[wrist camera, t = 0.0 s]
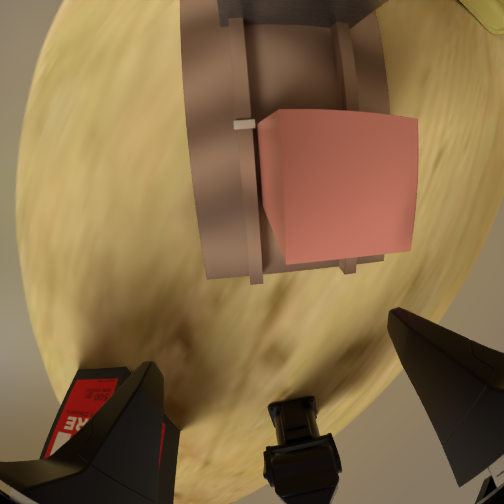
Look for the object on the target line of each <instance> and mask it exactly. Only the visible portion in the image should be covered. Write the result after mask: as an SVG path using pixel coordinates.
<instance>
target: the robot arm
mask: <svg viewBox="0 0 504 504" xmlns="http://www.w3.org/2000/svg"><path fill="white" fill-rule="evenodd" d="M387 329H388V333H389V335H390V337H391V340H392V342H393V345H394V347H395V349H396V352H397V354H398V357H399V359H400V361H401V364H402V366H403V368H404V369H405V371H406V373H407V375H408V377H409V378H410V381H411V382H412V384H413V386H414V388H415V390H416V392H417V394H418V396H419V397H420V400H421V402H422V404H423V406H424V408H425V410H426V412H427V414H428V416H429V418H430V420H431V422H432V425H433V427H434V429H435V431H436V433H437V435H438V438H439V440H440V442H441V444H442V446H443V449H444V452H445V454H446V456H447V459H448V461H449V463H450V466H451V468H452V471H453V473H454V476H455V479H456V481H457V484H458V486H459V487H461V486H463V485H464V484H465V483H467V482H468V481H470V480H471V479H473V478H474V477H476V476H477V475H478V474H480V473H481V472H483V471H484V470H485V469H486V468H488V469H489V472H490V474H491V475H490V476H489V477H488V478H486V479H485V480H484V482H483V484H482V487H481V490H480V492H479V495H478V497H477V500H476V502H475V504H504V353H502V352H499V351H496V350H494V349H491V348H488V347H486V346H484V345H481V344H479V343H477V342H475V341H472V340H470V339H468V338H466V337H464V336H462V335H459V334H457V333H455V332H453V331H451V330H449V329H446V328H444V327H442V326H439V325H438V324H435V323H433V322H431V321H429V320H427V319H424V318H422V317H420V316H418V315H416V314H413V313H411V312H409V311H407V310H405V309H402V308H400V307H397V308H394V309H391V310H390V311H389V315H388V324H387ZM268 411H269V414H270V417H271V419H272V422H273V425H274V427H275V428H276V435H277V442H278V445H276V446H267V447H266V451H265V452H263V453H264V472H263V476H264V478H265V479H267V480H268V482H269V483H270V486H271V487H275V492H276V494H277V495H278V497H279V498H280V499H281V501H282V502H283V503H284V504H331V503H332V501H333V499H334V496H335V494H336V492H337V489H338V483H339V476H338V473H341V472H342V467H341V461H340V457H339V454H338V451H337V448H336V445H335V442H334V440H333V437H332V434H331V433H328V434H327V435H323V436H320V434H319V430H318V427H317V423H316V418H317V416H316V405H315V398H314V397H313V396H311V397H307V398H302V399H298V400H293V401H289V402H284V403H279V404H274V405H269V406H268ZM163 413H164V379H163V375H162V373H161V372H160V370H159V368H158V367H157V365H156V364H155V362H153V361H146V362H143V363H142V364H141V365H140V366H139V367H138V368H137V369H136V370H135V371H134V372H133V373H132V374H131V376H130V377H129V378H128V379H127V380H126V381H125V382H124V383H123V384H122V385H121V386H120V387H119V388H118V389H117V390H116V392H115V393H114V394H113V395H112V396H111V397H110V398H109V399H108V400H107V401H106V402H105V403H104V404H103V405H102V406H101V408H100V409H99V410H98V411H97V412H96V413H95V414H94V415H93V416H92V417H91V419H89V420H88V421H87V422H86V423H85V425H84V426H83V427H82V428H81V429H80V430H79V431H78V432H77V433H76V434H74V435H73V436H72V437H71V438H70V439H69V440H68V441H67V442H66V443H64V444H63V445H62V446H61V447H60V448H59V449H58V450H56V451H55V452H54V453H53V454H52V455H50V456H49V457H47V458H44V459H40V460H30V461H18V462H0V480H1V481H3V482H4V483H6V484H7V485H9V486H10V487H12V489H11V492H10V495H8V494H7V493H5V492H4V491H2V490H1V489H0V504H157V496H158V474H159V458H160V446H161V434H162V424H163Z"/></svg>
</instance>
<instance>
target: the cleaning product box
mask: <svg viewBox="0 0 504 504" xmlns="http://www.w3.org/2000/svg"><path fill="white" fill-rule="evenodd" d="M130 376H131V372H130V371H129V370H128V368H127V367H117V368H103V369H84V370H78V371H77V373H76V375H75V377H74V379H73V381H72V383H71V385H70V387H69V389H68V391H67V393H66V396H65V398H64V400H63V402H62V404H61V406H60V409H59V411H58V413H57V415H56V418H55V420H54V423H53V425H52V427H51V430H50V432H49V435H48V437H47V440H46V442H45V445H44V448H43V450H42V453H41V456H40V459H44V458H47V457H49V456H50V455H52V454H53V453H54V452H55V451H56V450H58V449H59V448H60V447H61V446H62V445H63V444H64V443H66V442H67V441H68V440H69V439H70V438H71V437H72V436H73V435H74V434H76V433H77V432H78V431H79V430H80V429H81V428H82V427H83V426H84V425H85V423H86V422H87V421H88V420H89V419H91V417H92V416H93V415H94V414H95V413H96V412H97V411H98V410H99V409H100V408H101V406H102V405H103V404H104V403H105V402H106V401H107V400H108V399H109V398H110V397H111V396H112V395H113V394H114V393H115V392H116V390H117V389H118V388H119V387H120V386H121V385H122V384H123V383H124V382H125V381H126V380H127V379H128V378H129V377H130ZM179 437H180V431H179V430H178V429H177V428H176V426H175V425H174V424H173V423H172V422H171V421H170V420H169V419H168V418H167V417H166V415H165V414H164V413H163V424H162V434H161V446H160V458H159V474H158V496H157V504H173V499H174V487H175V475H176V465H177V455H178V446H179ZM40 459H39V460H40Z"/></svg>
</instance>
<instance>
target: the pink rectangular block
mask: <svg viewBox="0 0 504 504" xmlns="http://www.w3.org/2000/svg"><path fill="white" fill-rule="evenodd" d="M257 136H258V149H259V163H260V177H261V191H262V205H263V208H264V210H265V213H266V215H267V218H268V220H269V222H270V225H271V227H272V230H273V232H274V235H275V237H276V240H277V243H278V245H279V248H280V250H281V253H282V255H283V258H284V260H285V263H286V265H288V264H298V263H307V262H317V261H327V260H336V259H345V258H354V257H363V256H372V255H381V254H389V253H398V252H406V251H410V250H411V243H412V236H413V229H414V220H415V210H416V199H417V184H418V119H414V118H408V117H401V116H395V115H387V114H379V113H369V112H358V111H344V110H324V109H278V110H277V111H275V112H274V113H272V114H271V115H269V116H268V117H267V118H265V119H264V120H262V121H261V122H259V123H258V124H257Z"/></svg>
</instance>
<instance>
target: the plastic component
mask: <svg viewBox="0 0 504 504" xmlns="http://www.w3.org/2000/svg"><path fill="white" fill-rule="evenodd" d="M459 1H460V2H461V3H462V4H463V5H464V6H465V7H466V8H467V9H468V10H469V11H470V12H471V13H472V14H473V15H474V16H475V17H476V18H477V19H478V20H479V21H480V22H481V23H482V25H483V26H484V27H485V28H486V29H487V30H488V31H490V32H491V33H494V34H504V0H459Z"/></svg>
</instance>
